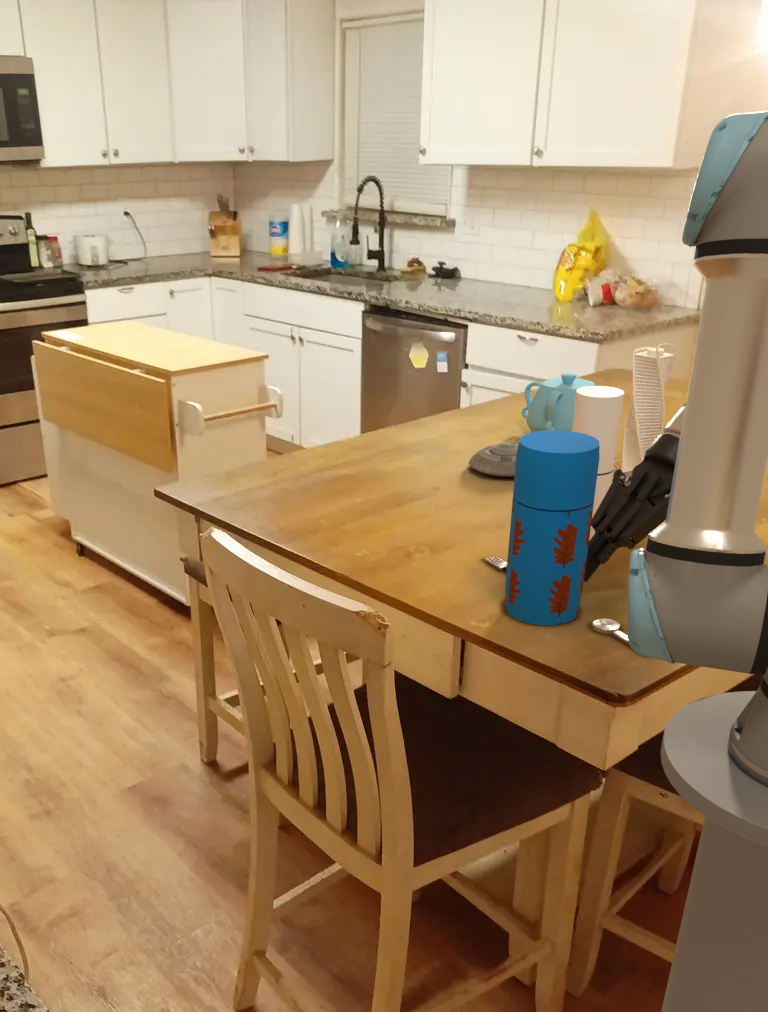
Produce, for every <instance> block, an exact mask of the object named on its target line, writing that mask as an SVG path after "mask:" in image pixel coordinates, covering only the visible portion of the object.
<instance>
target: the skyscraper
mask: <svg viewBox="0 0 768 1012" xmlns="http://www.w3.org/2000/svg"><path fill="white" fill-rule="evenodd" d="M662 347H670V348H671V349H672V351H673V353H669V352H665V349H664V348H662ZM644 350H646V351H644ZM639 351H642V352H639ZM677 356H678V354H677V350H676V348H675V346H674V345H673V344H672V343H669V342H663V343H659V344H657V346H655V347H652V346H641V347H637V348H636V349H634V350H633V351H632V393H631V396H630V400H629V403H628V407H627V410H626V411H627V412H626V415H625V423H624V429H623V436H622V437H623V438H622V449H621V471H622V472H628V471H632V470H633V469H634V467H635V466H637V465H638V464H640V463H641V462H642V461H643V460H644V457H645V452H646V450H647V449H648V448H649V447H650V445H651V444H652V443H653V442H654V440H655V439H656V438H657V437H658V436H659V435H660V434H664V431H663V429H664V428H665V416H666V415H665V414H666V413H665V411H666V403H665V401H666V400H665V389H666V388H667V384H668V381H669V380H670V379H669V378H670V376H671V373H672V370H673V367H674V364H675V362H676V360H677V359H676V358H677Z"/></svg>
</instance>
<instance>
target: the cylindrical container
mask: <svg viewBox="0 0 768 1012" xmlns="http://www.w3.org/2000/svg"><path fill="white" fill-rule="evenodd" d="M624 398H625V391H624V390H622V389H621V388H618V387H615V386H607V385H595V386H587V387H581V388H579V389H577V391H576V400H575V409H574V418H573V426H572V431H573V432H578V433H583V434H587V435H590V436H592V437H595V438H596V439H597V440H598V441H599V456H600V458H599V466H598V474H597V482H596V490H595V497H594V505H593V513H592V518H593V516H594V515H595V513H596V511H597V509H598V507H599V506H600V504H601V502H602V500H603V498H604V497H605V495H606V493H607V491H608V489H609V488H610V486H611V484H612V481H613V476H614V472H615V471H614V470H615V464H616V456H617V455H616V454H617V450H618V449H617V447H618V441H619V433H620V426H621V418H622V412H623V405H624ZM594 534H595V530H594V529H593V527H592V526H591V529H590V537H589V541H590V539H591V538H592V537H593V536H594Z"/></svg>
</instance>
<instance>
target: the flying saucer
mask: <svg viewBox="0 0 768 1012" xmlns="http://www.w3.org/2000/svg"><path fill="white" fill-rule="evenodd" d="M517 449H518V443H513V442H501V443H496V444H491V445H488V446H486V447H485V446H484V447H483V448H480V449H479V450H477V451H476V452H475V453H474V454H473V455H472V456H471V457H470V458H469V460H468V465H469V466H470V468H472V469H473V470H475V471H477V472H479V473H482V474H485V475H488V476H495V477H503V478H504V477H505V478H507V477H508V478H515V466H516V454H517Z"/></svg>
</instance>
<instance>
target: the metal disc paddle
mask: <svg viewBox="0 0 768 1012" xmlns="http://www.w3.org/2000/svg"><path fill="white" fill-rule="evenodd" d="M620 628H621V624H620V623H619V622H618V621H616V620H614V619H611V618H597V619H595V620H594V621H593V622H592V629H593V630H594V631H596V632H597V633H600V634H604V635H612V636H614V637H615V638H617V639H618V640H620V641H622V642H623V643H625V644H627V645H628V646H630V644H629V641H628V634H626V633H624V632H623V631H621V630H620Z"/></svg>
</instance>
